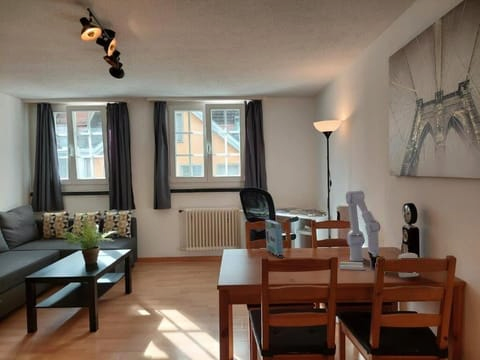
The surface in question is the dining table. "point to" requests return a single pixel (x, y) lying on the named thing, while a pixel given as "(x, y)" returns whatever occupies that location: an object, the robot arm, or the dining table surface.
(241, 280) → the dining table surface
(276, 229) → the gum box
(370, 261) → the slate block
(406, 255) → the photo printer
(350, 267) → the channel
